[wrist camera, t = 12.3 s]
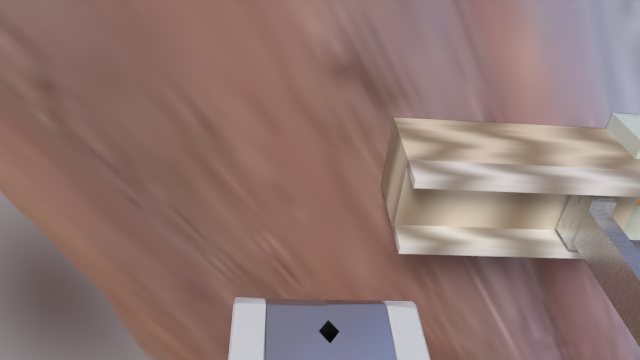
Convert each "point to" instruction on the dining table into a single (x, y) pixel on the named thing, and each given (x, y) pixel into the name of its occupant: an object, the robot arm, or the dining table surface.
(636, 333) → the plunger
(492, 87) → the dining table surface
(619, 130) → the cup
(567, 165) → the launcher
